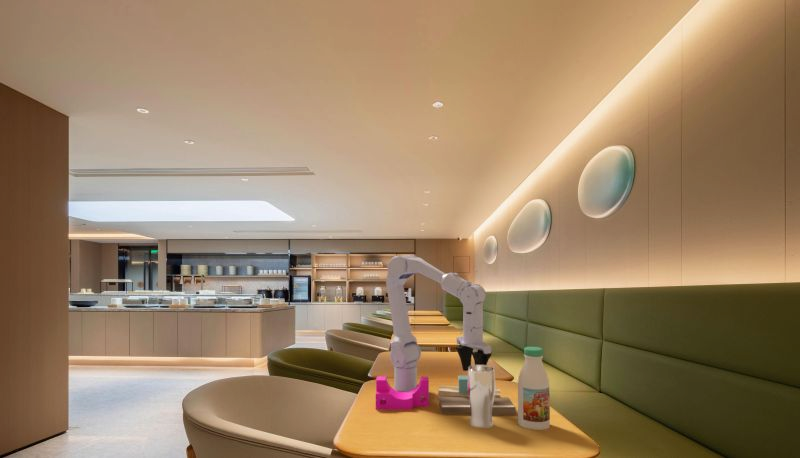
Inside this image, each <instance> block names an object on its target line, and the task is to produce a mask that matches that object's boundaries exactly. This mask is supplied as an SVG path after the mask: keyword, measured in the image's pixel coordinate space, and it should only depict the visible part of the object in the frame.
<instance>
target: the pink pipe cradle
mask: <svg viewBox="0 0 800 458" xmlns="http://www.w3.org/2000/svg"><path fill="white" fill-rule="evenodd" d="M429 381H430V379H429V376H420V380H419V382H418V383H417V387H416V388H414V389H413V390H411V391H409V392H401V391H397V390H395V389H394V387H391V385H390V383H389V382H388V380H387V376H386V375H385V376H382V375H381V376H380V375H379V376H376V380H375V382H376V383H375V410H413V409H414V408H413V407H430V405H429V404H430V403H429V402H430V397H429V396H430V394H429V392H430V391H429V389H430V388H429V387H430V385H429V384H430V383H429ZM423 396H424V397H423Z"/></svg>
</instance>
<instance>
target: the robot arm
mask: <svg viewBox="0 0 800 458" xmlns="http://www.w3.org/2000/svg"><path fill="white" fill-rule="evenodd" d="M386 267H387V275H386V279H385V285H386V291H387V296H388V304H389V310H390V315H391V323H392V328H393V336H394V337H393V338H392V340H391V341H390V351H389V359H390V362H391V363H392V365H393V367H394V371H393V372H394V374H393V376H394V377H393V378H394V379H393V381H394V383H393V385H394V387H393V389H394V390H396V391H398V392H409V391H411V390H413V389H414V388H416V387H417V385H418V365H417V364H418V360H419V359H420V358H421V356H422V350H421V347H420V346H419V344H418V341H417V340H418V339H417V337H416V336H415V335H414V334H413V333H412V331H411V329H412V328H411V323H410V317H409V311H408V306H407V300H406V294H405V287H404V285H405V283H407V281H408V280H409V279H410V278H411V277H412V276H414V275H416V274H421V275H423V276H425V277H426V278H429V279H431V280H433V281H435V282H437V283H439V284H440V288H441V289H442V290H443V291H445V292H447V293H449V294H450V295H452V296H454V297H456V298H458V299H459V301H460V302H461V304H462V309H463V310H462V313H463V314H462V317H463V318H462V320H463V322H462V323H463V324H462V332H463V333H462V334H463V335H462V336H457V337H456V344H457V346H456V345H455V350H456V353H457V354H458V357H459V359H460V363H461V369H462V371H464V372H468V367H469V366H471V365H472V358H473V363H474V365H488V362H489V361H490V358H491V356H492V355H493V354H492V345H489V344H487V343H486V342H484V310H483V309H484V306H483V305H484V301H485V300H486V297H487V294H486V293H487V292H486V289H485V288H484V287H483V286H482V285H480V284H479V283H474V284H472V280H466V279H465V278H462V277H460V276H459V273H457V272H448V273H446V272H444V271H441V270H440V269H438V268H437V267H435V266H434V265H432V264H431V263H428V262H427V261H426V260H424V259H423V258H422V257H418V256H417V255H415V254H409V255H394V256H393V257H391V258H390V260H389V261H388V262H387V264H386ZM474 350H476V351H474Z"/></svg>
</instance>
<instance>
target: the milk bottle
mask: <svg viewBox="0 0 800 458" xmlns="http://www.w3.org/2000/svg"><path fill="white" fill-rule="evenodd" d="M523 353H524V354H523V357H524V362H523V365H522V368H521V370H520V373H519V374H518V381H517V425H518V426H520V427H522V428H523V429H529V430H536V431H538V430H539V431H542V430H543V431H544V430H547V429H549V428H550V426H551V425H550V424H551V422H550V421H551V420H550V419H551V418H550V417H551V415H550V412H551V408H550V406H551V404H550V402H551V401H550V398H551V397H550V381H549V380H550V379H549V377H548V374H547V371H546V370H545V367H544V363H543V358H544V350H543V348H542V347H540V346H539V347H538V346H526V347H524V348H523Z"/></svg>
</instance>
